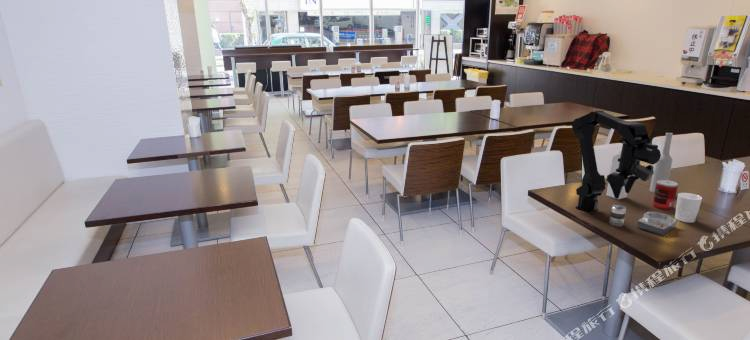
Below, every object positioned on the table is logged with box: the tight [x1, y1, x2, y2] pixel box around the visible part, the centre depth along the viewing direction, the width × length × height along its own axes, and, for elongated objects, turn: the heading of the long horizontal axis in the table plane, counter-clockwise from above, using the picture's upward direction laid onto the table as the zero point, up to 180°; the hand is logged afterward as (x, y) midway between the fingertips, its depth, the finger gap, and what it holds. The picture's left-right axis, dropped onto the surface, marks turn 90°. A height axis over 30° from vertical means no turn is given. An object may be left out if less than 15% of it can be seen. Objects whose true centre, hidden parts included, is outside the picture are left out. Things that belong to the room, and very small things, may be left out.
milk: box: [606, 149, 628, 200], centre depth 198 cm, size 6×6×22 cm
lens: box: [608, 204, 627, 228], centre depth 171 cm, size 5×5×7 cm
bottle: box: [649, 132, 674, 194], centre depth 203 cm, size 7×7×28 cm
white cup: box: [674, 192, 703, 224], centre depth 175 cm, size 8×8×10 cm
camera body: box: [636, 211, 678, 236], centre depth 169 cm, size 9×12×4 cm
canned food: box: [652, 179, 679, 211], centre depth 188 cm, size 8×8×11 cm
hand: (621, 195), depth 169 cm, fingers open, 9 cm apart
